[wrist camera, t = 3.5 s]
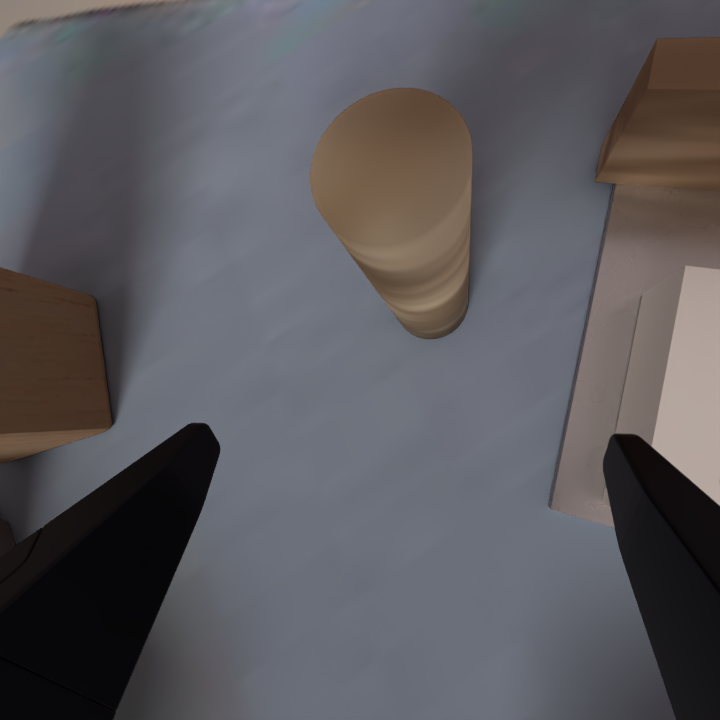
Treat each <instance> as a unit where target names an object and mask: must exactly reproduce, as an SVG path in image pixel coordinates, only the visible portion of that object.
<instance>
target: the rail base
mask: <svg viewBox="0 0 720 720" xmlns="http://www.w3.org/2000/svg"><path fill="white" fill-rule="evenodd" d="M595 182H601V183H614V184H613V189H612V193H611V198H610V203H609V208H608V213H607V218H606V223H605V228H604V233H603V238H602V243H601V248H600V253H599V258H598V263H597V268H596V273H595V277H594V282H593V287H592V292H591V297H590V302H589V307H588V312H587V317H586V322H585V327H584V332H583V337H582V342H581V347H580V352H579V357H578V362H577V366H576V371H575V376H574V381H573V386H572V391H571V396H570V401H569V406H568V411H567V416H566V421H565V426H564V431H563V436H562V441H561V446H560V450H559V455H558V460H557V465H556V470H555V475H554V480H553V485H552V490H551V495H550V500H549V505H548V507H549V508H550V509H552V510H555V511H559V512H562V513H565V514H569V515H572V516H576V517H579V518H583V519H586V520H590V521H593V522H596V523H600V524H603V525H607V526H610V527H614V522H613V517H612V512H611V507H609V506H608V505H606V504H605V503H603V502H602V500H603V495H604V490H605V485H606V483H605V478H604V473H603V458H604V455H605V452H606V449H607V445H608V442H609V439H610V437H611V435H613V434H615V433H616V428H617V423H618V418H619V412H620V407H621V402H622V397H623V392H624V387H625V381H626V376H627V371H628V366H629V361H630V356H631V350H632V345H633V340H634V335H635V330H636V325H637V319H638V314H639V309H640V304H641V299H642V294H643V293H645V292H646V291H648V290H649V289H651V288H652V287H654V286H655V285H657V284H658V283H660V282H661V281H663V280H664V279H666V278H668V277H669V276H671V275H672V274H674V273H675V272H677V271H678V270H680V269H681V268H683V267H684V266H693V267H702V268H710V269H719V270H720V37H710V38H664V39H657V40H656V42H655V44H654V46H653V48H652V50H651V52H650V54H649V56H648V58H647V60H646V62H645V64H644V65H643V67H642V69H641V71H640V73H639V75H638V77H637V79H636V81H635V83H634V85H633V87H632V89H631V91H630V93H629V94H628V96H627V98H626V100H625V102H624V104H623V106H622V108H621V110H620V112H619V114H618V116H617V118H616V120H615V121H614V123H613V125H612V127H611V129H610V131H609V133H608V135H607V137H606V139H605V141H604V143H603V145H602V148H601V153H600V158H599V163H598V168H597V173H596V178H595ZM614 528H615V527H614Z"/></svg>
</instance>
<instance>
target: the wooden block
mask: <svg viewBox="0 0 720 720" xmlns="http://www.w3.org/2000/svg"><path fill="white" fill-rule="evenodd" d="M111 426H112V419H111V411H110V404H109V396H108V388H107V381H106V373H105V366H104V358H103V350H102V343H101V335H100V328H99V320H98V313H97V305H96V300H95V299H94V297H92V296H91V295H88V294H85V293H81V292H78V291H75V290H72V289H68V288H65V287H62V286H59V285H55V284H52V283H49V282H46V281H42V280H39V279H36V278H33V277H29V276H26V275H23V274H20V273H16V272H13V271H10V270H7V269H3V268H0V464H3V463H8V462H11V461H14V460H17V459H20V458H23V457H27V456H30V455H33V454H36V453H39V452H42V451H46V450H49V449H52V448H55V447H58V446H61V445H65V444H68V443H71V442H74V441H77V440H80V439H84V438H87V437H90V436H93V435H96V434H99V433H103V432H105V431H107V430H109V429H110V428H111Z"/></svg>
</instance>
